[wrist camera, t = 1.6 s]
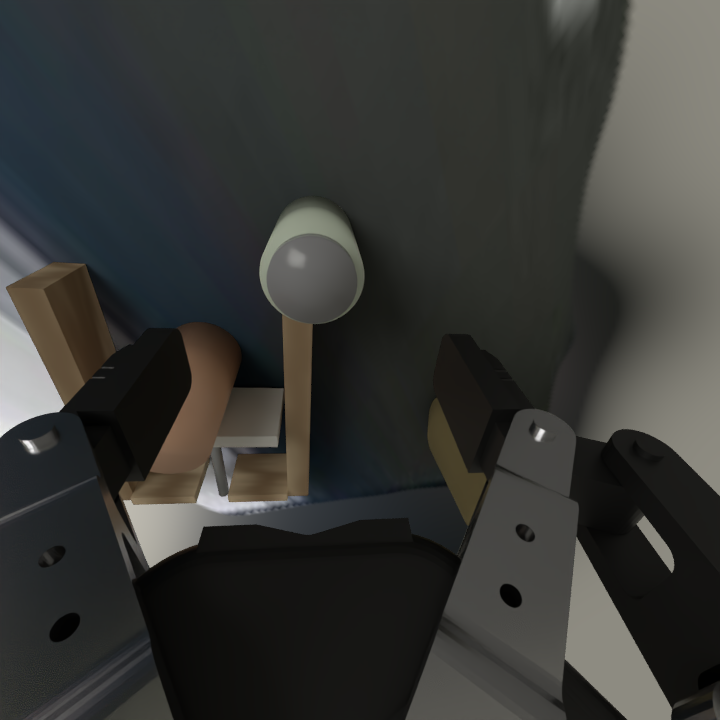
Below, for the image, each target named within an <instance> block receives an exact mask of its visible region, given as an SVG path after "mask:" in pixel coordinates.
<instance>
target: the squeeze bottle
mask: <svg viewBox="0 0 720 720" xmlns="http://www.w3.org/2000/svg"><path fill="white" fill-rule="evenodd" d="M427 437H428V443H429V448H430V450H431V452H432V454H433V456H434V458H435V460H436V462H437V464H438V466H439V469H440V471H441V473H442V475H443V477H444V479H445V481H446V483H447V485H448V487H449V489H450V491H451V493H452V495H453V498H454V500H455V502H456V504H457V506H458V508H459V510H460V512H461V514H462V516H463V518H464V520H465V522H466V524H467V525H468V526H469V523H470V521H471V518H472V515H473V513H474V510H475V508H476V505H477V502H478V500H479V497H480V495H481V492H482V489H483V487H484V484H485V482H486V480H487V479H486V476H485V474H484V473H468V471H467V468H466V466H465V464H464V461H463V459H462V456H461V454H460V452H459V449H458V447H457V444H456V442H455V440H454V437H453V435H452V432H451V430H450V428H449V425H448V423H447V420H446V418H445V416H444V413H443V411H442V408H441V406H440V403H439V401H438V399H437V397H436V398H435V400H434V401H433V402H432V404H431V407H430V410H429V420H428V434H427Z"/></svg>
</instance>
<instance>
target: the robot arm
mask: <svg viewBox="0 0 720 720" xmlns="http://www.w3.org/2000/svg"><path fill="white" fill-rule="evenodd" d="M191 384H192V374H191V369H190V365H189V361H188V357H187V353H186V349H185V345H184V341H183V337H182V334H181V332H180V331H179V330H178V329H171V328H149V329H147V330H146V331H145V332H144V333H143V334H142V336H141V337H140V338H139V339H138V340H137V341H136V343H135V344H134V345H128V346H126V347H124V348H122V349H121V350H119V351H117V352H116V353H114V354H112V355H111V356H110V357H109V358H108V359H107V361H106V362H105V363H104V364H103V365H102V366H101V369H98V370H97V371H96V372H95V374H94V375H93V376H92V379H89V380H88V381H87V382H86V383H85V384H84V386H83V387H82V388H81V389H80V390H79V391H78V392H77V393H76V394H75V395H74V396H73V397H72V399H71V400H70V401H69V402H68V403H67V404H66V405H65V406H64V407H63V408H62V409H61V410H60V412H56V413H49V414H44V415H41V416H37V417H34V418H32V419H29V420H27V421H24V422H22V423H20V424H18V425H17V426H15V427H13V428H12V429H10V430H9V431H8V432H6V433H5V434H4V435H3V436H2V437H1V438H0V720H627V719H626V718H625V717H624V716H623V715H622V714H621V713H620V712H619V711H618V710H617V709H616V708H614V707H613V705H612V704H611V703H610V702H608V701H607V700H606V699H605V698H604V697H603V696H602V695H601V694H600V693H599V692H598V691H597V690H596V689H595V688H594V687H593V686H592V685H591V684H590V683H589V682H588V681H587V680H586V679H585V678H584V677H583V676H582V675H581V674H580V673H579V672H578V671H577V670H576V669H575V668H573V667H572V666H571V665H570V664H569V663H568V662H567V661H566V660H565V649H566V638H567V628H568V618H569V608H570V607H569V606H570V597H571V586H572V576H573V565H574V556H575V545H576V536H577V538H578V540H579V542H580V543H581V545H582V547H583V549H584V551H585V552H586V554H587V556H588V558H589V560H590V562H591V563H592V565H593V567H594V569H595V570H596V572H597V574H598V576H599V578H600V580H601V581H602V583H603V585H604V587H605V589H606V590H607V592H608V594H609V596H610V597H611V599H612V601H613V603H614V605H615V607H616V608H617V610H618V612H619V614H620V615H621V617H622V619H623V621H624V623H625V624H626V626H627V628H628V630H629V631H630V633H631V635H632V637H633V639H634V640H635V643H636V644H637V646H638V648H639V650H640V651H641V653H642V655H643V657H644V659H645V661H646V662H647V664H648V665H649V668H650V669H651V671H652V673H653V675H654V677H655V678H656V680H657V682H658V684H659V686H660V688H661V689H662V691H663V693H664V695H665V696H666V698H667V700H668V702H669V704H670V706H671V707H672V714H671V720H720V496H719V495H718V494H717V493H716V492H715V491H714V490H713V489H712V488H711V487H710V486H709V485H708V484H707V483H706V482H705V481H704V480H703V479H702V478H701V477H700V476H699V475H698V474H697V473H696V472H695V471H694V470H693V469H692V468H691V467H690V466H689V465H688V464H687V463H686V462H685V461H684V460H683V459H682V458H681V457H680V456H679V455H678V454H677V453H676V452H675V451H674V450H673V449H671V448H670V447H669V446H668V445H666V444H665V443H663V442H662V441H660V440H658V439H656V438H654V437H652V436H650V435H648V434H645V433H643V432H639V431H635V430H629V429H622V430H618V431H616V432H614V434H613V435H612V436H611V438H610V439H609V441H608V442H607V443H604V442H600V441H595V440H590V439H586V438H582V437H578V436H575V434H574V432H573V430H572V429H571V428H570V427H569V426H568V424H566V423H565V422H564V421H563V420H561V419H560V418H558V417H556V416H555V415H553V414H550V413H548V412H545V411H542V410H537V409H535V408H534V407H533V406H532V404H531V403H530V402H529V400H528V399H527V398H526V396H525V395H524V394H523V392H522V391H521V390H520V388H519V387H518V386H517V384H516V383H515V382H514V381H512V378H511V376H510V375H509V373H508V372H506V369H505V368H504V367H503V365H502V364H501V363H500V361H499V360H498V359H497V358H496V357H494V356H493V355H491V354H490V353H488V352H487V351H486V350H480V348H479V347H478V346H477V344H476V343H475V341H474V340H473V338H472V337H471V336H470V335H468V334H445V335H444V336H443V338H442V341H441V345H440V350H439V354H438V358H437V362H436V367H435V371H434V376H433V385H434V391H435V394H436V396H437V399H438V401H439V403H440V406H441V408H442V411H443V413H444V416H445V418H446V420H447V423H448V425H449V428H450V430H451V432H452V435H453V437H454V440H455V442H456V444H457V447H458V449H459V452H460V454H461V456H462V459H463V461H464V464H465V466H466V468H467V471H468V473H484V474H485V476H486V479H487V480H486V482H485V484H484V487H483V489H482V492H481V495H480V497H479V500H478V502H477V505H476V508H475V510H474V513H473V515H472V518H471V521H470V523H469V526H468V528H467V531H466V534H465V537H464V539H463V541H462V544H461V547H460V548H459V551H458V553H457V555H455V554H454V553H453V552H451V551H450V550H448V549H447V548H445V547H443V546H442V545H440V544H438V543H436V542H434V541H432V540H430V539H427V538H424V537H421V536H418V535H414V534H411V529H410V525H409V521H408V518H398V519H397V518H396V519H374V520H359V521H356V522H352V523H349V524H346V525H342V526H339V527H336V528H333V529H329V530H326V531H323V532H320V533H316V534H312V535H302V534H298V533H293V532H289V531H284V530H279V529H275V528H270V527H265V526H261V525H234V526H212V527H211V526H210V527H203V530H202V533H201V537H200V540H199V543H198V545H195V546H192V547H189V548H187V549H184V550H182V551H179V552H177V553H175V554H173V555H171V556H169V557H168V558H166V559H164V560H162V561H161V562H159V563H158V564H156V565H154V566H153V567H151V568H149V565H148V563H147V561H146V559H145V556H144V554H143V551H142V549H141V546H140V544H139V541H138V538H137V536H136V533H135V531H134V528H133V525H132V523H131V520H130V518H129V515H128V512H127V510H126V507H125V504H124V502H123V499H122V497H121V495H120V493H119V492H120V490H121V488H122V486H123V484H124V483H125V482H134V481H145V480H146V478H147V476H148V474H149V472H150V470H151V468H152V466H153V464H154V462H155V460H156V458H157V456H158V454H159V452H160V450H161V448H162V446H163V444H164V442H165V440H166V438H167V436H168V434H169V432H170V430H171V428H172V426H173V424H174V422H175V420H176V418H177V416H178V414H179V412H180V410H181V408H182V406H183V404H184V402H185V400H186V398H187V396H188V394H189V392H190V389H191ZM644 515H645V517H646V518H647V519H648V520H649V522H650V523H651V524H652V526H653V527H654V528H655V529H656V531H657V532H658V534H659V535H660V536H661V538H662V539H663V540H664V541H665V543H666V544H667V546H668V547H669V549H670V550H671V552H672V555H673V558H674V570H673V572H672V573H671V571H670V570H669V569H668V567H667V566H666V565H665V563H664V562H663V561H662V559H661V558H660V556H659V555H658V554H657V552H656V551H655V549H654V548H653V547H652V545H651V544H650V542H649V541H648V540H647V538H646V537H645V536H644V534H643V533H642V532H641V530H640V529H639V527H638V526H637V523H638V522H639V521H640V520H641V518H642V517H643V516H644Z"/></svg>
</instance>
